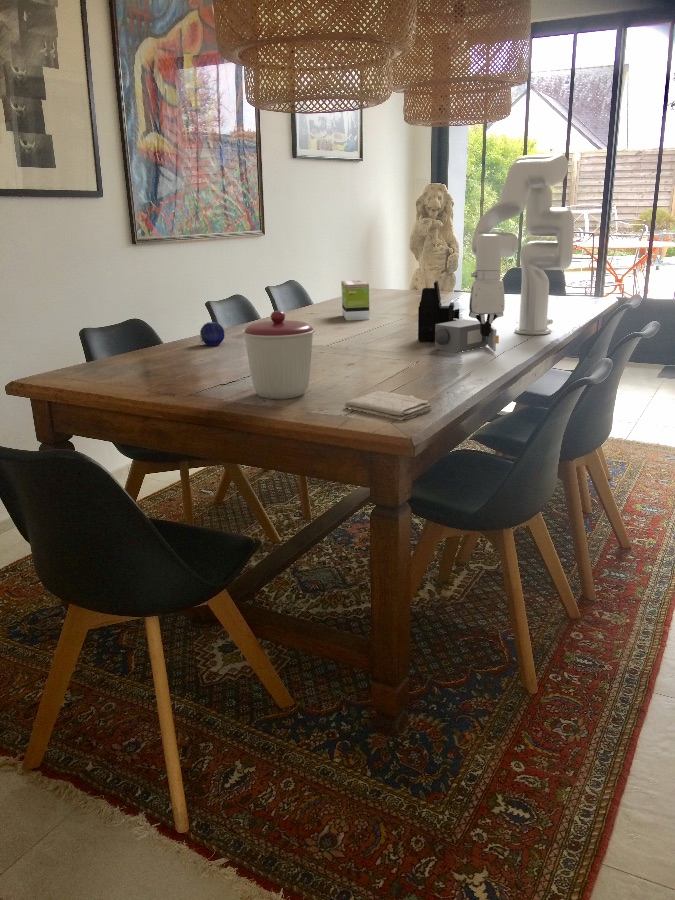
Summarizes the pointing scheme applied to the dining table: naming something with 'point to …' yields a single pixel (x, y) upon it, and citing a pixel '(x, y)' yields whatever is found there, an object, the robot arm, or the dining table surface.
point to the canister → (279, 356)
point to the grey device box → (459, 336)
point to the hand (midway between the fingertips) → (485, 335)
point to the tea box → (355, 300)
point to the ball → (211, 334)
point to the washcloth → (389, 405)
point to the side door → (492, 339)
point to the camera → (433, 313)
